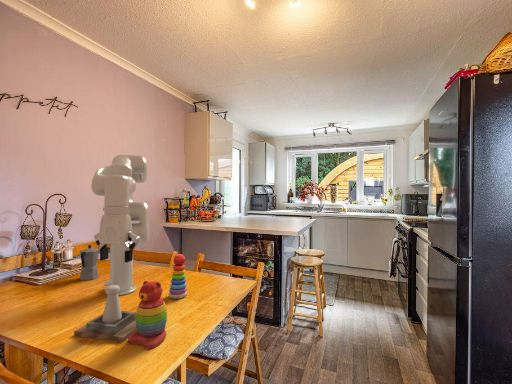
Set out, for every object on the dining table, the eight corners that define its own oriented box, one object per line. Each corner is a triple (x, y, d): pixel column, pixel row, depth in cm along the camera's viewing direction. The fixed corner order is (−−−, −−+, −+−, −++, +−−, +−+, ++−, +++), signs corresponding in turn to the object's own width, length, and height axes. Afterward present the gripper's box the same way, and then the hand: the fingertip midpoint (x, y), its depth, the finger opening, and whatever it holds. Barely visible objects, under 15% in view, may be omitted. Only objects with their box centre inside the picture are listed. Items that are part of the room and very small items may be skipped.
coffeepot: (85, 274, 150) (85, 242, 150) (103, 274, 152) (103, 242, 152) (71, 283, 135) (71, 248, 135) (91, 283, 137) (91, 247, 137)
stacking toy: (182, 300, 115) (182, 256, 115) (165, 298, 116) (165, 255, 117) (190, 293, 123) (190, 252, 123) (174, 292, 124) (174, 252, 124)
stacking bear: (124, 342, 82) (125, 284, 82) (149, 327, 91) (150, 275, 92) (151, 350, 78) (151, 289, 78) (174, 334, 87) (175, 279, 87)
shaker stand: (74, 335, 86) (74, 323, 86) (102, 318, 97) (102, 307, 97) (123, 342, 82) (123, 329, 82) (146, 324, 94) (146, 312, 94)
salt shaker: (101, 330, 86) (102, 290, 86) (102, 323, 91) (103, 284, 91) (121, 326, 89) (122, 287, 89) (121, 319, 94) (122, 282, 94)
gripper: (86, 211, 90) (86, 261, 90) (131, 212, 86) (130, 265, 86) (103, 209, 97) (103, 256, 97) (145, 210, 94) (145, 259, 94)
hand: (116, 260), depth 92 cm, fingers open, 9 cm apart
